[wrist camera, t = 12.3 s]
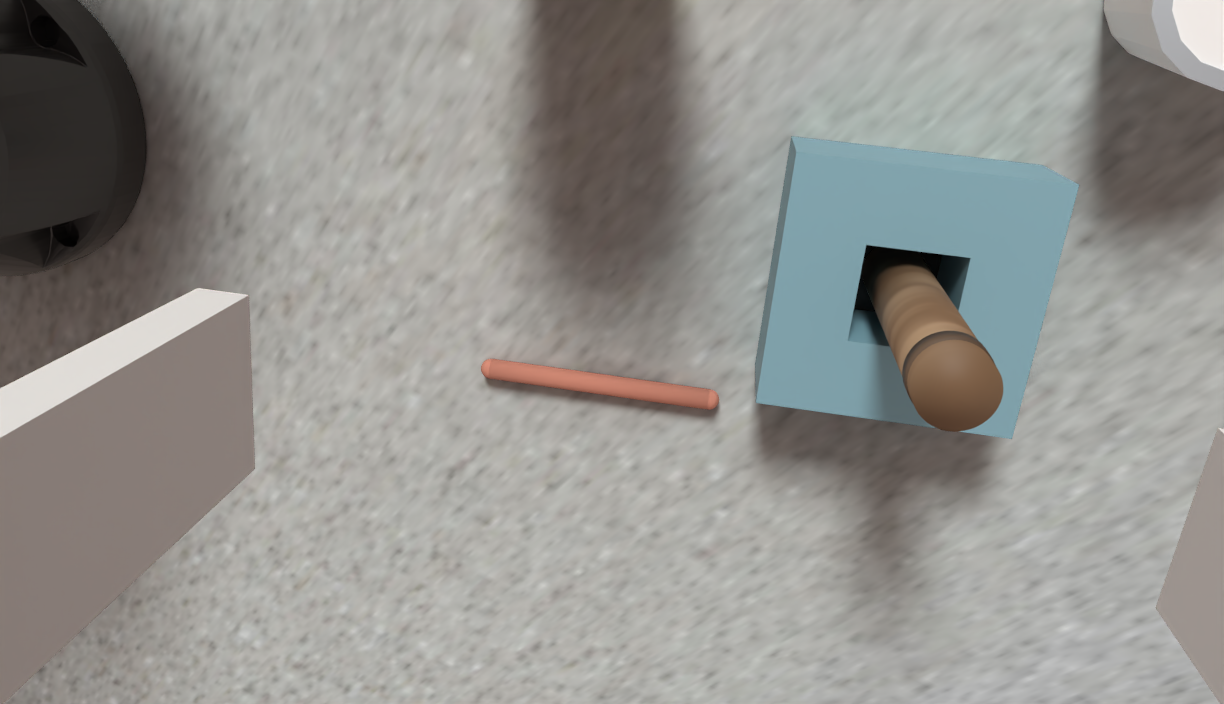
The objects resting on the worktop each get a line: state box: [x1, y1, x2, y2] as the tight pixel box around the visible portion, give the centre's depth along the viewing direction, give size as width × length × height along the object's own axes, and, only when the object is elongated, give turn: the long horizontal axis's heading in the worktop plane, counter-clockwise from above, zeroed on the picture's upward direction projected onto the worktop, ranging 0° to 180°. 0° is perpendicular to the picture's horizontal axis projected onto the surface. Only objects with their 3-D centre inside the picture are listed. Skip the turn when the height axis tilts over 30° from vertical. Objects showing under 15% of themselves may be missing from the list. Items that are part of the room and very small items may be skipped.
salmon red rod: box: [481, 359, 719, 410], centre depth 48 cm, size 12×1×1 cm, turn 84°
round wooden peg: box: [862, 246, 1003, 432], centre depth 38 cm, size 3×3×15 cm
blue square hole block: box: [755, 136, 1079, 439], centre depth 43 cm, size 11×11×5 cm
